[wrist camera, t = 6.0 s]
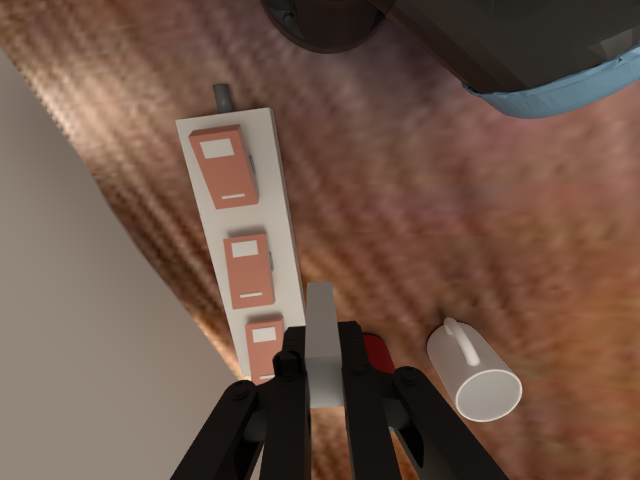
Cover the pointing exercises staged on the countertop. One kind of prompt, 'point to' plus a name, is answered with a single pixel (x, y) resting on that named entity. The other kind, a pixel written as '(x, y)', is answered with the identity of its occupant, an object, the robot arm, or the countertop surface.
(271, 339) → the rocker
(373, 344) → the beverage can
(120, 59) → the countertop surface
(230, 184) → the block
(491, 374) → the mug
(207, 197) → the power strip
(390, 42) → the countertop surface
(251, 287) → the rocker
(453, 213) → the countertop surface
